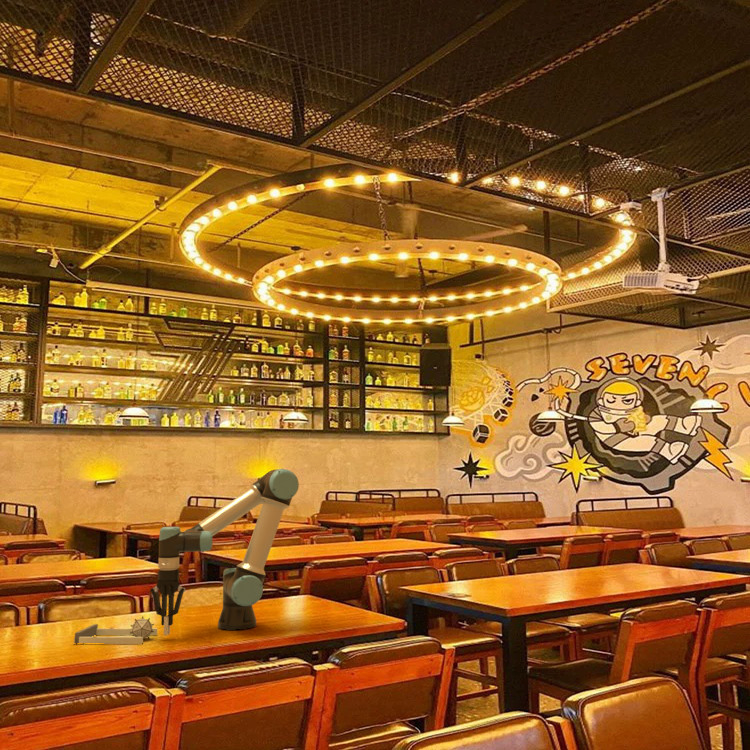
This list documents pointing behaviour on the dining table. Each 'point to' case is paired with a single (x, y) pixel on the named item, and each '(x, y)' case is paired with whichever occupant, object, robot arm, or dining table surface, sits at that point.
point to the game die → (142, 628)
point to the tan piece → (92, 630)
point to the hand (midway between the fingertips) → (166, 634)
